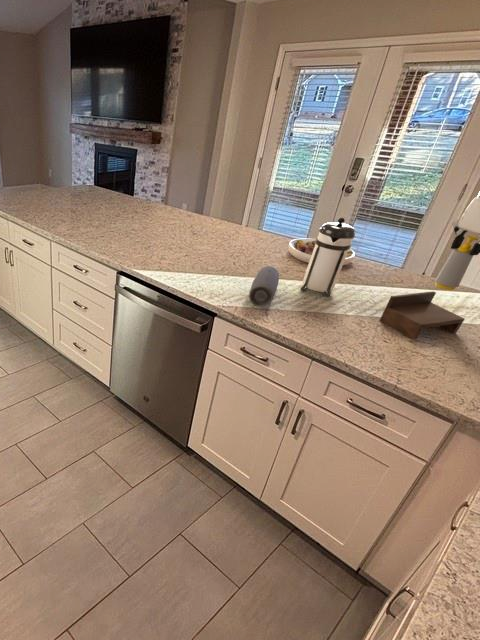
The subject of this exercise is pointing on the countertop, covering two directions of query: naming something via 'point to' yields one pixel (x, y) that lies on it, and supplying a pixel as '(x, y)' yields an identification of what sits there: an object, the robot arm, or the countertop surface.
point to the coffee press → (328, 256)
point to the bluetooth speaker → (264, 286)
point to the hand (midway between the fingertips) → (464, 251)
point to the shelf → (418, 314)
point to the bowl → (310, 250)
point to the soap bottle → (455, 266)
